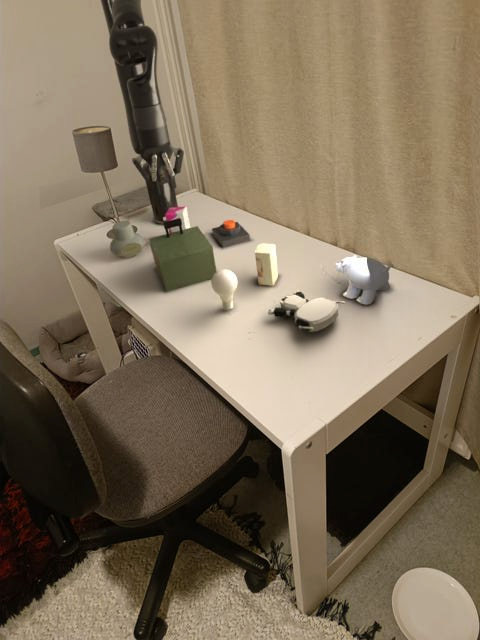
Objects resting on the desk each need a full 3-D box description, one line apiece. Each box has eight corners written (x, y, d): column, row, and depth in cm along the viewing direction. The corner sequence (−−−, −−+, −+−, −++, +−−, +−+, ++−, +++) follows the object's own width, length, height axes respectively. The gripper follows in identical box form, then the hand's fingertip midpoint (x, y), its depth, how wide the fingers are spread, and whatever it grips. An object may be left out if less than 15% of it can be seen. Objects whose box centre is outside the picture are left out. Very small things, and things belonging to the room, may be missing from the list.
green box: (156, 269, 131) (149, 242, 126) (203, 256, 134) (198, 229, 129) (166, 291, 121) (159, 263, 115) (217, 276, 124) (212, 248, 119)
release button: (222, 226, 141) (221, 221, 140) (232, 223, 142) (232, 218, 141) (226, 230, 138) (225, 225, 137) (236, 227, 139) (236, 222, 138)
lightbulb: (222, 319, 108) (216, 281, 101) (211, 307, 112) (205, 270, 106) (245, 310, 110) (240, 272, 103) (233, 298, 114) (228, 261, 108)
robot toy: (265, 322, 106) (316, 343, 96) (263, 307, 104) (314, 327, 94) (297, 299, 112) (347, 316, 103) (296, 283, 110) (347, 300, 100)
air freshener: (115, 263, 137) (106, 234, 131) (110, 252, 143) (101, 224, 137) (149, 253, 140) (141, 224, 134) (143, 243, 146) (135, 215, 140)
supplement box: (193, 238, 145) (186, 205, 138) (189, 247, 140) (183, 213, 133) (176, 239, 146) (169, 206, 139) (172, 248, 141) (164, 214, 134)
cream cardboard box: (263, 274, 122) (260, 242, 116) (278, 276, 121) (276, 243, 115) (257, 285, 118) (254, 251, 112) (273, 286, 117) (270, 253, 111)
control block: (212, 234, 146) (210, 223, 143) (237, 227, 148) (236, 216, 145) (223, 248, 137) (221, 236, 135) (250, 240, 139) (248, 229, 137)
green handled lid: (149, 241, 126) (144, 223, 123) (197, 228, 130) (194, 211, 126) (159, 263, 115) (155, 244, 112) (212, 248, 118) (209, 230, 115)
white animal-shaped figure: (350, 271, 119) (351, 239, 113) (400, 290, 109) (404, 256, 104) (324, 288, 113) (325, 256, 108) (375, 310, 104) (378, 275, 98)
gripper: (175, 116, 112) (187, 182, 123) (120, 126, 109) (137, 193, 119) (182, 121, 106) (194, 190, 117) (124, 133, 103) (142, 202, 114)
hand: (165, 191), depth 118 cm, fingers open, 3 cm apart
